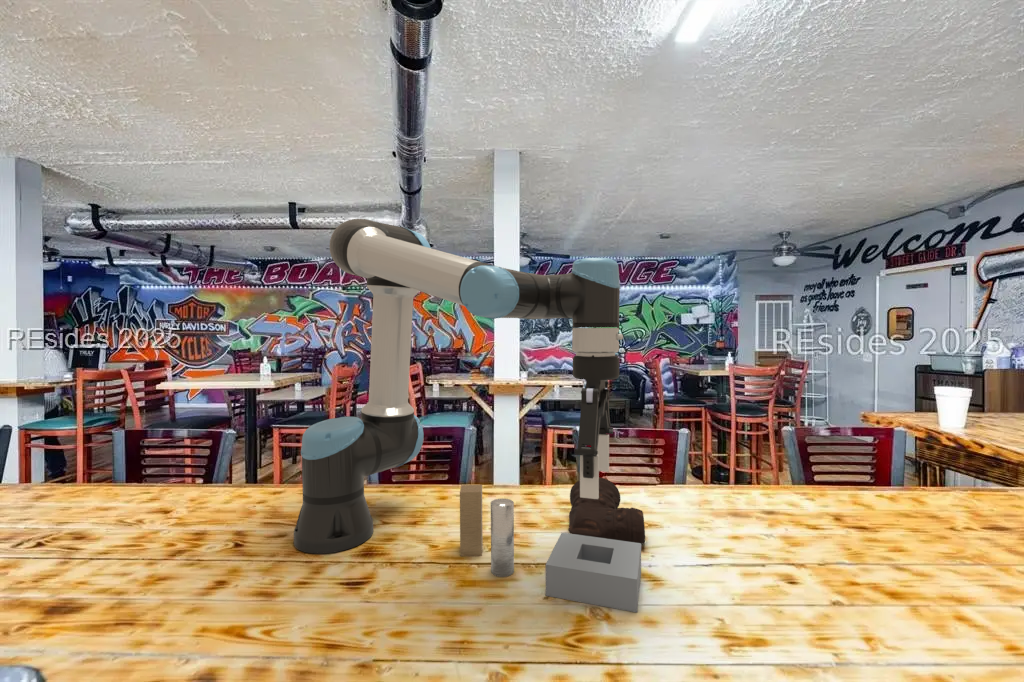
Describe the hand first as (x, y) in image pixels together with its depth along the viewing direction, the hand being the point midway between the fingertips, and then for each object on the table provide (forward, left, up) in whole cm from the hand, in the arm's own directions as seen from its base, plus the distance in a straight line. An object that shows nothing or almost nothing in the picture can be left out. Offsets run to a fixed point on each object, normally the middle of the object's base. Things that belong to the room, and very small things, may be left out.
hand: (595, 483), depth 76 cm
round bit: (-16, -1, -17) cm, 23 cm away
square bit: (-24, +4, -17) cm, 30 cm away
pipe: (-1, +20, -17) cm, 26 cm away
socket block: (0, 0, -17) cm, 17 cm away
